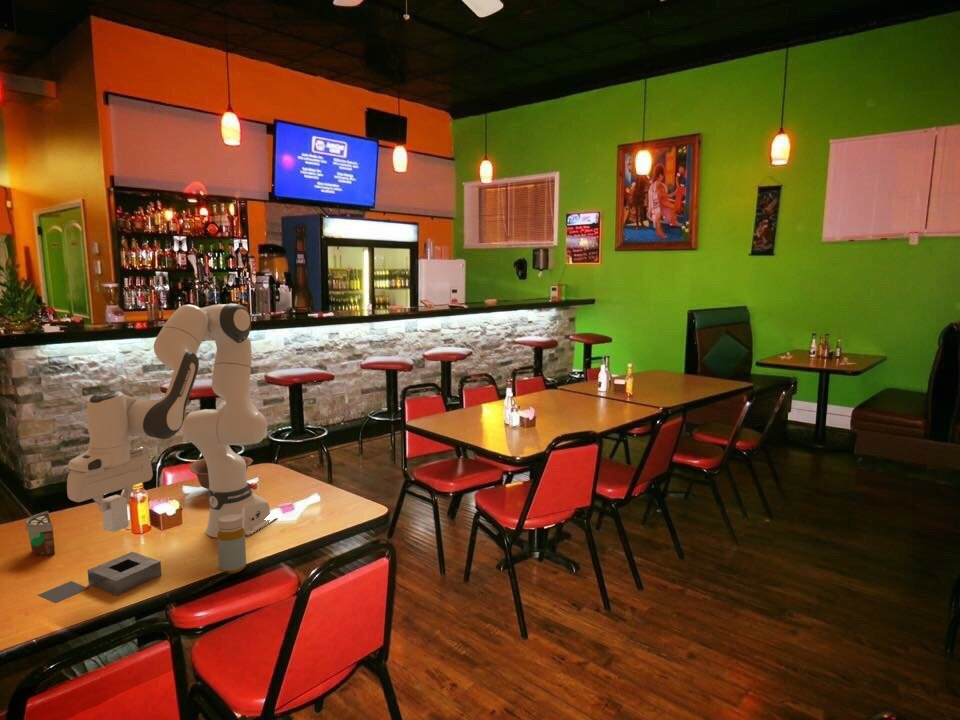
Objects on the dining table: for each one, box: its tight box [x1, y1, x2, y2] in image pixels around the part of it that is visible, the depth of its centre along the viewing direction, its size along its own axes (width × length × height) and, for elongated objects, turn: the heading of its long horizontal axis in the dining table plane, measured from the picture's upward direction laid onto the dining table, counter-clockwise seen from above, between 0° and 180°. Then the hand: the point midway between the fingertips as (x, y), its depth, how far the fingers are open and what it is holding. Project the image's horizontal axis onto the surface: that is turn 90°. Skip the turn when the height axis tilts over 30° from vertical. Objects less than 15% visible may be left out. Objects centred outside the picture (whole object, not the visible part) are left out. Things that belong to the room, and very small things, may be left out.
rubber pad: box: [37, 580, 90, 604], centre depth 153 cm, size 8×8×1 cm
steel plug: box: [101, 494, 129, 533], centre depth 156 cm, size 4×4×8 cm
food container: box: [24, 510, 56, 557], centre depth 176 cm, size 12×6×10 cm, turn 40°
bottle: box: [217, 513, 247, 575], centre depth 167 cm, size 7×7×15 cm
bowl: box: [188, 455, 254, 490], centre depth 227 cm, size 22×22×11 cm
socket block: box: [87, 551, 162, 597], centre depth 159 cm, size 12×12×5 cm
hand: (114, 507), depth 156 cm, fingers closed on steel plug, 4 cm apart
